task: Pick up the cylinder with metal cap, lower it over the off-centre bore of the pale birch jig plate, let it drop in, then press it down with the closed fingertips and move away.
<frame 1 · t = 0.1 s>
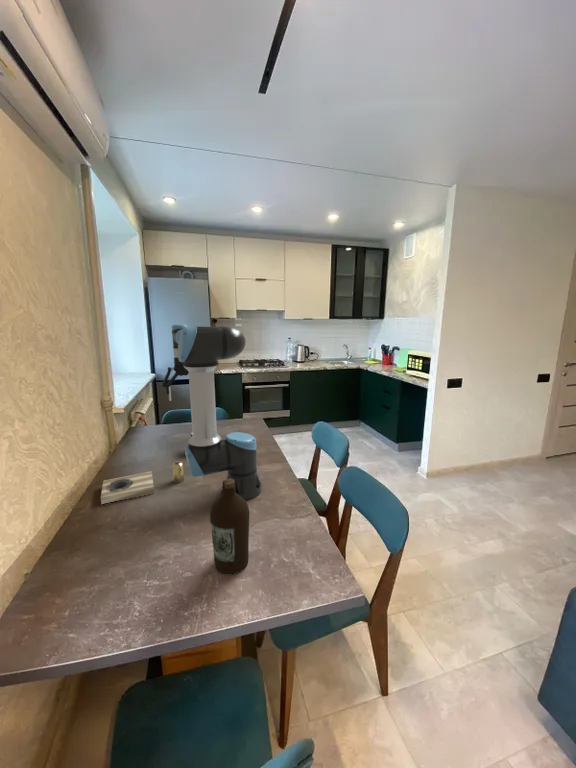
hand: (184, 398, 157), 28 cm above the table, tool pointing down, fingers open, 13 cm apart
mug: (200, 452, 161), on the table
cylinder with metal cap: (178, 480, 132), on the table
jig: (128, 490, 125), on the table
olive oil: (231, 562, 88), on the table
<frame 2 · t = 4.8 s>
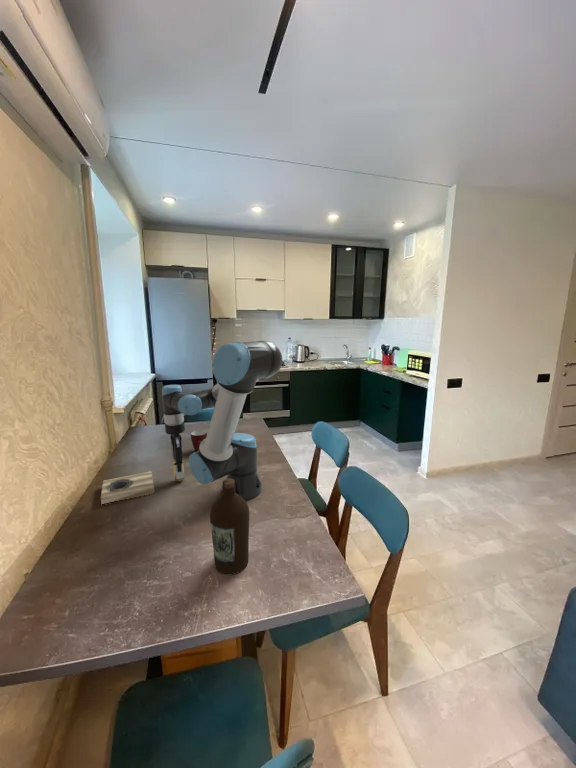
hand: (179, 475, 132), 2 cm above the table, tool pointing down, fingers closed on cylinder with metal cap, 3 cm apart
cylinder with metal cap: (179, 478, 132), point 1 cm above the table, touching gripper
everything else where it was.
when the fingers open (4 cm above the table, at t = 10.5 s): cylinder with metal cap drops 2 cm, resting in jig.
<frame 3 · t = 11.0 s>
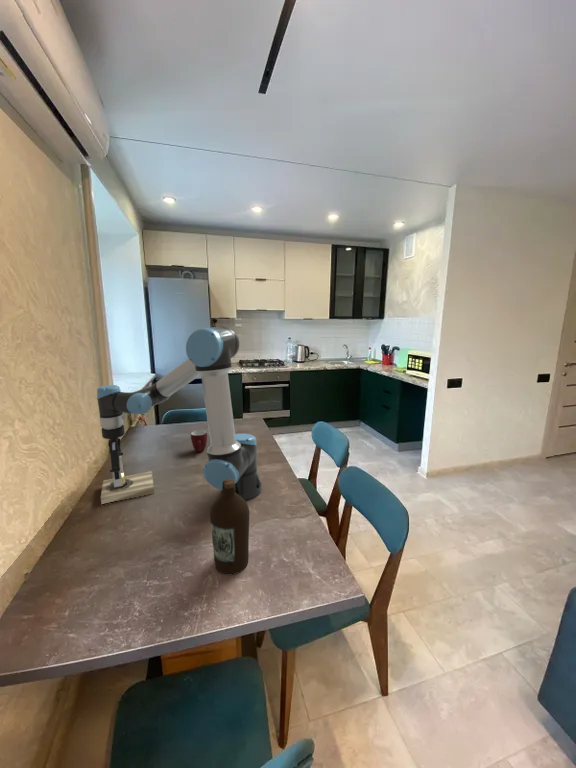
hand: (118, 478, 122), 6 cm above the table, tool pointing down, fingers open, 12 cm apart
cylinder with metal cap: (120, 491, 124), resting in jig
everything else where it was.
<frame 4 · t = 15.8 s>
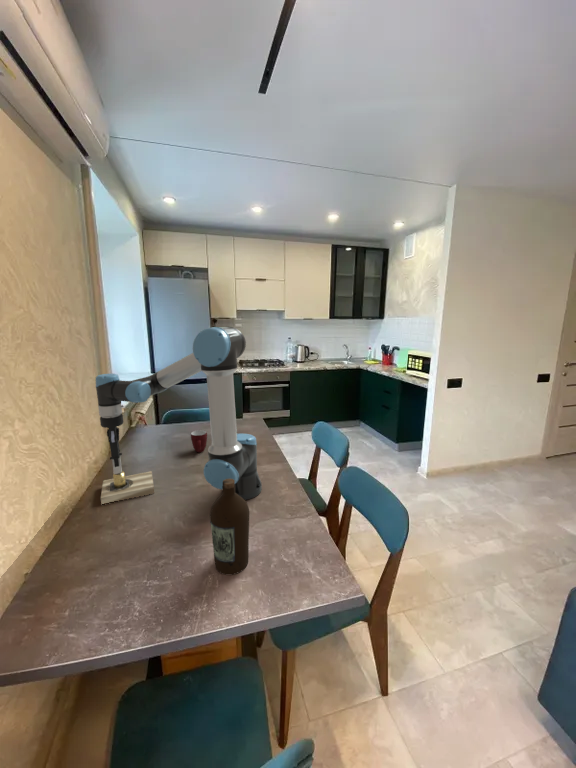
hand: (117, 472, 122), 8 cm above the table, tool pointing down, fingers closed
cylinder with metal cap: (120, 491, 124), resting in jig, touching gripper
everything else where it was.
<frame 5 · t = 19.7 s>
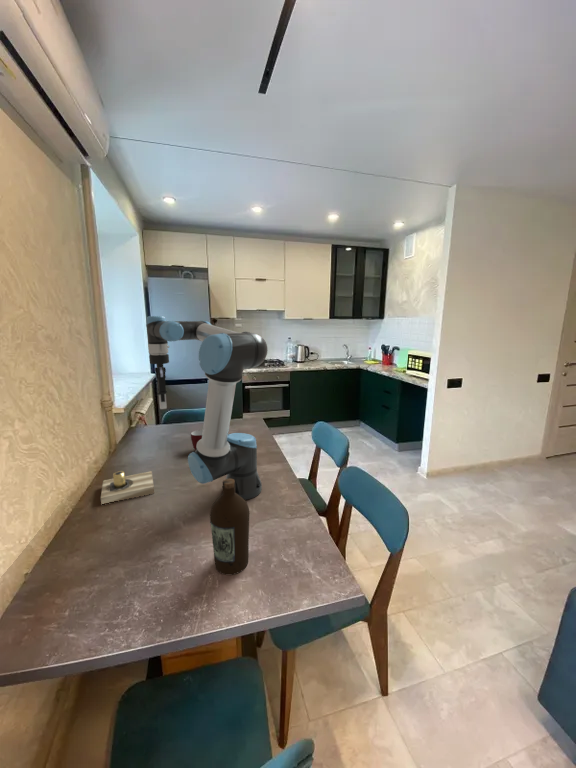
hand: (163, 408, 135), 29 cm above the table, tool pointing down, fingers closed
cylinder with metal cap: (120, 491, 124), resting in jig
everything else where it was.
at the end: cylinder with metal cap 0.1 cm from the target spot on the jig, point 0.0 cm above the jig's base; cylinder with metal cap tilted 0°; the gripper is holding nothing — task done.
